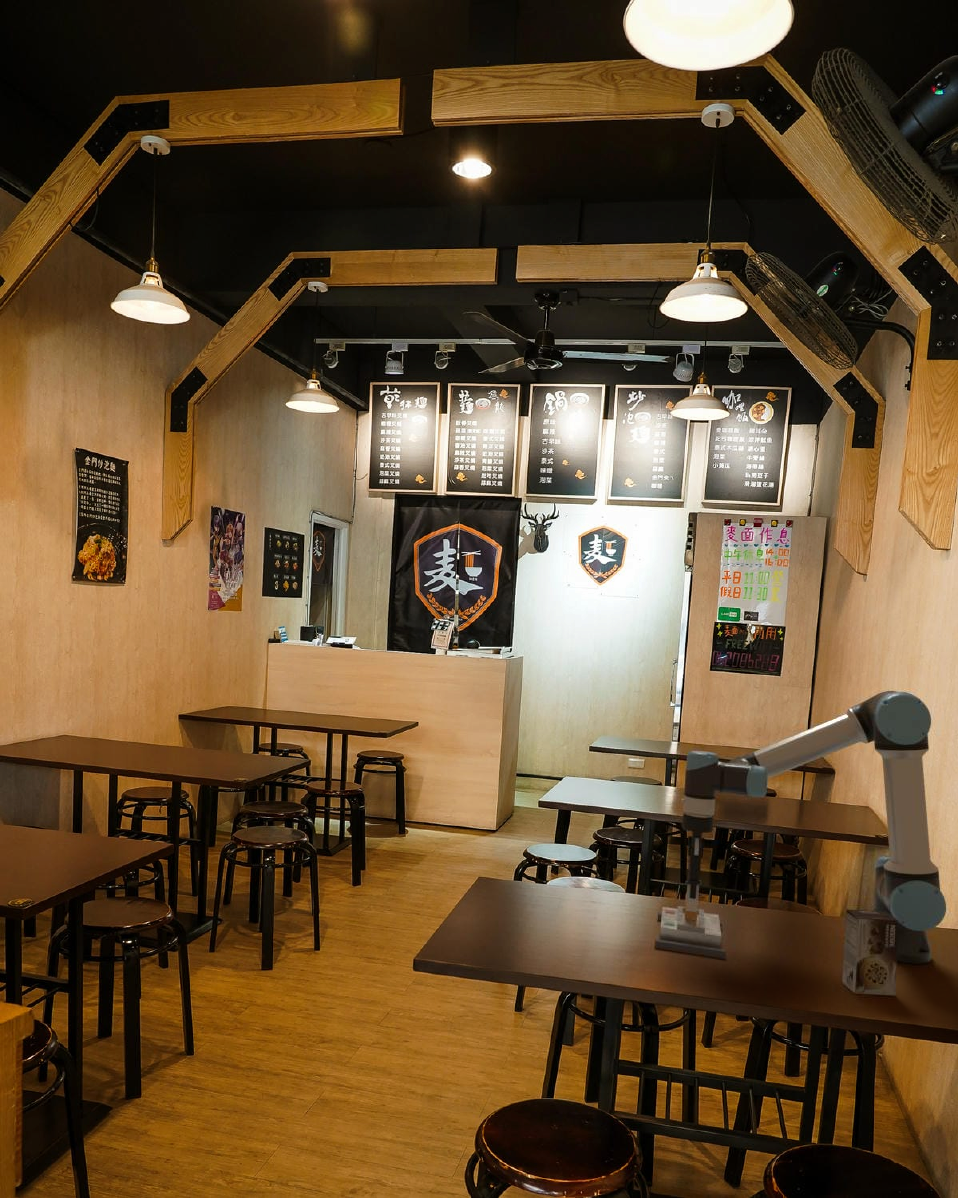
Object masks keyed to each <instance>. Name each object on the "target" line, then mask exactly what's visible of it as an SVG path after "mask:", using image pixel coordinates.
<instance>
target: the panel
mask: <svg viewBox="0 0 958 1198" xmlns="http://www.w3.org/2000/svg"><path fill="white" fill-rule="evenodd" d="M661 913H662V917H661V921H660V931H659V939H660V940H666V941H672V942H679V943H685V944H692V945H698V946H705V947H711V948H718V949H722V948H721V946H722V929H720V922H721V921H720V916H719V914H714V913H707V912H705V911H704V909H701V908H698V910H697V919H694V918H687V917H684V914H685V906H681V905H677V908H674V907H672V908H671V907H666V906H662V909H661Z"/></svg>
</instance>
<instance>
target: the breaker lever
mask: <svg viewBox="0 0 958 1198" xmlns="http://www.w3.org/2000/svg"><path fill="white" fill-rule="evenodd" d="M686 901H687V894H685V902H684V907H685V914H684V917H687V918H694V919H697V912H691V911H686ZM698 909H699V907H698V908H697V910H698Z"/></svg>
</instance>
